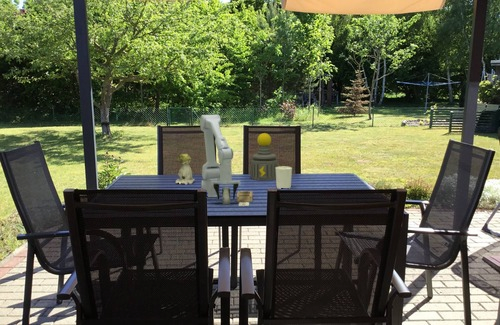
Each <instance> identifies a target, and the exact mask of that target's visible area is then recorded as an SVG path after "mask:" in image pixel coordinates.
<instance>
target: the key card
mask: <svg viewBox="0 0 500 325" xmlns="http://www.w3.org/2000/svg"><path fill="white" fill-rule="evenodd" d="M249 205H250V202H238V206H239V207H249Z"/></svg>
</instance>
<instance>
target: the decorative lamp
mask: <svg viewBox="0 0 500 325" xmlns="http://www.w3.org/2000/svg"><path fill="white" fill-rule="evenodd" d="M271 142H272V137H271V136H270V134H268V133H266V132H264V133H261V134H259V135H258V136H257V144H258V146H259V148H258V151H257V153H254V154H253V155H252V158H251V161H250V163H249V166H250V167H249V168H250V169H249V172H250V177H251V179H252V180H254V181H259V182H260V181H264V182H265V181H267V182H268V181H276V169H275V168H276V167H280V163H279V161H278V159H277V155H276V154H275V153H272V151H271V148H270V145H271Z"/></svg>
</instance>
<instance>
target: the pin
mask: <svg viewBox="0 0 500 325" xmlns="http://www.w3.org/2000/svg"><path fill="white" fill-rule="evenodd" d="M221 194H222V196H221V197H222V202H221V203H222V205H231V188H230V187H229V186H225V187H222V188H221Z"/></svg>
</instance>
